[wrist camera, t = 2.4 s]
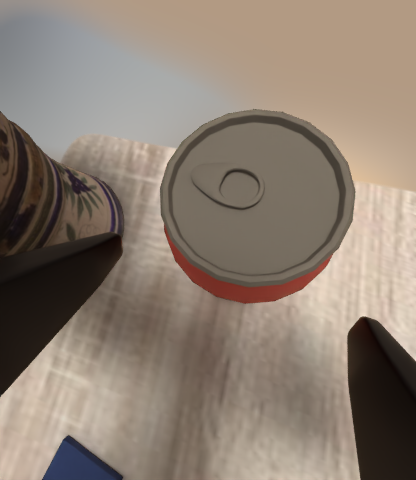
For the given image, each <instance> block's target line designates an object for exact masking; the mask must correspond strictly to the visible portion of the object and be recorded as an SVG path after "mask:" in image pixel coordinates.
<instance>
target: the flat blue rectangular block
mask: <svg viewBox="0 0 416 480" xmlns="http://www.w3.org/2000/svg"><path fill="white" fill-rule="evenodd" d="M122 478H123V477H122V476H121V475H119V474H118V473H117V472H115V471H114V470H113V469H111V468H110V467H109V466H108V465H106V464H105V463H104V462H102V461H101V460H100V459H98V458H97V457H96V456H94V455H93V454H92V453H91V452H89V451H88V450H87V449H85V448H84V447H83V446H81V445H80V444H79V443H77V442H76V441H75V440H74V439H72V438H71V437H70V436H67V437H66V438H64V439H63V441H62V443H61V445H60V447H59V449H58V451H57V452H56V454H55V456H54V458H53V460H52V462H51V464H50V466H49V468H48V470H47V471H46V473H45V475H44V477H43V479H42V480H122Z"/></svg>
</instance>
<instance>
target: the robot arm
mask: <svg viewBox="0 0 416 480" xmlns="http://www.w3.org/2000/svg"><path fill="white" fill-rule="evenodd" d="M122 253H123V247H122V237H121V235H120V234H117V233H114V232H106V233H102V234H98V235H94V236H90V237H85V238H81V239H77V240H73V241H69V242H64V243H60V244H56V245H52V246H48V247H43V248H39V249H35V250H31V251H26V252H22V253H18V254H14V255H10V256H5V257H2V258H0V397H1V395H2V394H3V393H4V392H5V391H6V390H7V389H8V388H9V387H10V386H11V385H12V383H13V382H14V381H15V380H16V379H17V378H18V377H19V376H20V374H21V373H22V372H23V371H24V370H25V369H26V368H27V367H28V366H29V364H30V363H31V362H32V361H33V360H34V359H35V358H36V357H37V355H38V354H39V353H40V352H41V351H42V350H43V349H44V348H45V347H46V345H47V344H48V343H49V342H50V341H51V340H52V339H53V338H54V336H55V335H56V334H57V333H58V332H59V331H60V330H61V329H62V328H63V326H64V325H65V324H66V323H67V322H68V321H69V320H70V319H71V317H72V316H73V315H74V314H75V313H76V312H77V311H78V310H79V309H80V307H81V306H82V305H83V304H84V303H85V302H86V301H87V300H88V298H89V297H90V296H91V295H92V294H93V293H94V292H95V291H96V289H97V288H98V287H99V286H100V285H101V283H102V282H103V281H104V279H105V278H106V277H107V275H108V274H109V272H110V271H111V270H112V268H113V267H114V266H115V264H116V263H117V261H118V260H119V259H120V257H121V256H122ZM347 345H348V385H349V394H350V402H351V410H352V417H353V425H354V433H355V441H356V448H357V456H358V464H359V472H360V479H361V480H416V361H415V360H414V359H413V358H412V357H411V356H410V355H409V354H408V353H407V352H406V351H405V349H404V348H403V347H402V346H401V345H400V344H399V343H398V342H397V341H396V340H395V339H394V338H393V337H392V336H391V334H390V333H389V332H388V331H387V330H386V329H385V328H384V327H383V326H382V325H381V324H380V323H379V322H378V321H377V320H374V319H371V318H368V317H361V318H360V319H359V320H358V321H357V322H356V323H355V324H354V326H353V327H352V328H351V329H350V331H349V332H348V336H347Z"/></svg>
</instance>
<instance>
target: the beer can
mask: <svg viewBox="0 0 416 480" xmlns="http://www.w3.org/2000/svg"><path fill="white" fill-rule="evenodd" d="M160 200H161V216H162V219H163V221H164V230H165V234H166V237H167V240H168V243H169V245H170V248H171V251H172V253H173V256H174V259H175V261H176V262H177V263H178V265H179V266H180V267H181V268H182V270H183V271H184V272H185V273H186V274H187V276H188V277H189V278H190V279H191V280H192V282H194V283H195V284H197V285H199V286H200V287H202V288H203V289H205V290H207V291H208V292H210V293H211V294H213V295H215V296H216V297H220V298H224V299H228V300H232V301H236V302H240V303H244V304H246V303H259V302H271V301H276V300H279V299H281V298H283V297H286V296H288V295H290V294H293V293H295V292H297V291H299V290H302V289H303V288H304V287H305V286H306V285H307V284H308V283H309V282H311V281H312V280H313V279H314V278H315V277H316V276H317V275H318V274H319V273H320V272H321V271H322V270H323V269H324V268H325V267H326V266H327V265H328V263H329V261H330V259H331V257H332V255H333V253H334V252H335V251H336V250H337V249H338V248H339V246H340V244H341V242H342V240H343V238H344V236H345V234H346V232H347V230H348V228H349V226H350V225H351V223H352V220H353V210H354V200H355V188H354V184H353V180H352V176H351V173H350V169H349V165H348V162H347V161H346V160H345V158H344V157H343V156H342V154H341V152H340V151H339V149H338V148H337V147H336V145H335V144H334V142H333V141H332V140H331V139H330V138H329V137H328V136H326V135H325V134H324V133H322V132H321V131H320V130H319V129H317V128H316V127H315V126H313V125H312V124H311V123H309V122H307V121H304V120H302V119H299V118H297V117H294V116H292V115H289V114H286V113H284V112H277V111H267V110H257V109H253V110H247V111H241V112H235V113H229V114H226V115H224V116H222V117H219V118H217V119H214V120H212V121H210V122H208V123H205V124H203V125H202V126H201V127H199V128H198V129H197V130H196V131H195V132H193V133H192V134H191V135H190V136H189V137H187V138H186V139H185V140H184V141H183V142H182V143H181V144H180V146H179V147H178V149H177V150H176V152H175V153H174V155H173V156H172V157H171V159H170V160H169V162H168V164H167V167H166V170H165V174H164V177H163V180H162V184H161V187H160Z"/></svg>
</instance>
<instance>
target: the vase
mask: <svg viewBox="0 0 416 480" xmlns="http://www.w3.org/2000/svg"><path fill="white" fill-rule="evenodd" d="M123 231H124V218H123V212H122V208H121V205H120V203H119V200H118V199H117V197H116V195H115V193H114V192H113V191H112V189H111V188H110V187H109V186H108V185H107V184H106V183H104V182H103V181H102V180H100V179H98V178H96V177H93V176H90V175H87V174H84V173H82V172H79V171H77V170H74V169H72V168H70V167H67V166H65V165H63V164H60V163H58V162H56V161H55V160H53V159H51V158H50V157H48V156H47V155H46V154H45V153H44V152H43V151H42V150H41V149H40V148H39V147H38V146H37V145H36V144H35V142H34V141H33V140H32V139H31V137H30V136H29V135H28V134H27V133H26V132H25V131H24V130H23V129H21V128H20V127H19V126H18V125H17V124H15V123H14V122H12V121H10V120H8V119H7V118H6V117H5V116H4V115H3V114H2V112H1V111H0V258H2V257H5V256H10V255H14V254H18V253H22V252H26V251H31V250H35V249H39V248H43V247H48V246H52V245H56V244H60V243H64V242H69V241H73V240H77V239H81V238H85V237H90V236H94V235H98V234H102V233H106V232H114V233H117V234H120V235H121V237H122V236H123Z"/></svg>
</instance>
